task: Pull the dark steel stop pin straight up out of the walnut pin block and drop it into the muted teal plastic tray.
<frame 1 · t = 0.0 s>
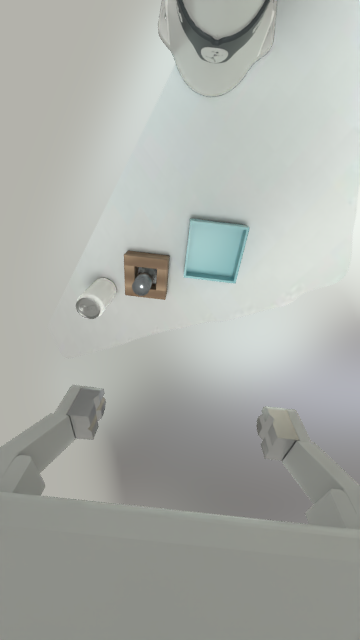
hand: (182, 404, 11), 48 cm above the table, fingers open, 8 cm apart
can: (105, 288, 61), on the table
tray: (213, 249, 54), on the table
pin block: (148, 273, 58), on the table
pin: (144, 279, 53), in the pin block
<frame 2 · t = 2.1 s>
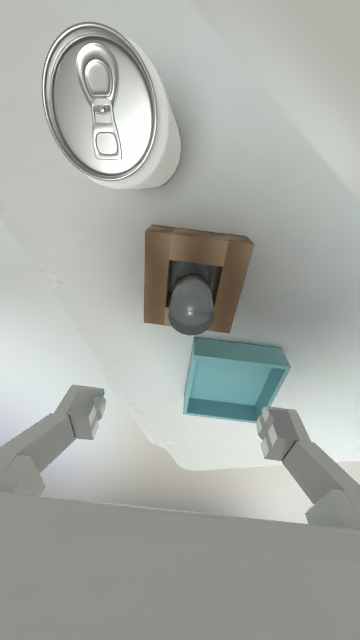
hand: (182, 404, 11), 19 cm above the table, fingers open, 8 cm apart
can: (148, 148, 21), on the table
tray: (227, 373, 35), on the table
pin block: (193, 275, 27), on the table
pin: (192, 292, 23), in the pin block
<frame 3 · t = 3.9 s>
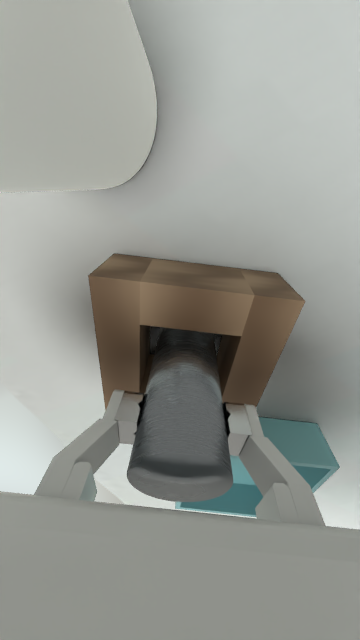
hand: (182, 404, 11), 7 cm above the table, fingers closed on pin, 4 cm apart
can: (93, 111, 10), on the table
tray: (237, 449, 25), on the table
pin block: (186, 330, 17), on the table
pin: (184, 379, 12), in the pin block, touching gripper
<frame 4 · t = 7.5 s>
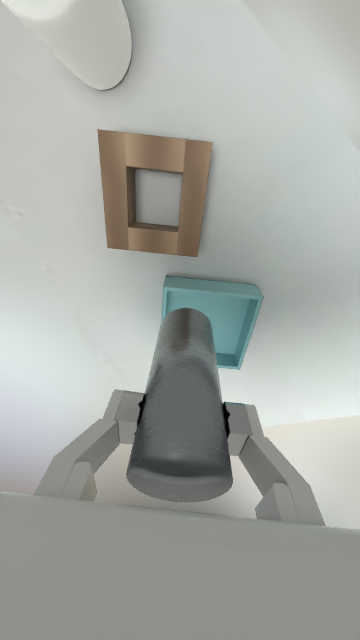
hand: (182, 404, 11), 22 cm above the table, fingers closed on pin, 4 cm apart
can: (98, 43, 20), on the table
tray: (204, 318, 34), on the table
pin block: (158, 199, 26), on the table
pin: (183, 379, 12), point 21 cm above the table, touching gripper
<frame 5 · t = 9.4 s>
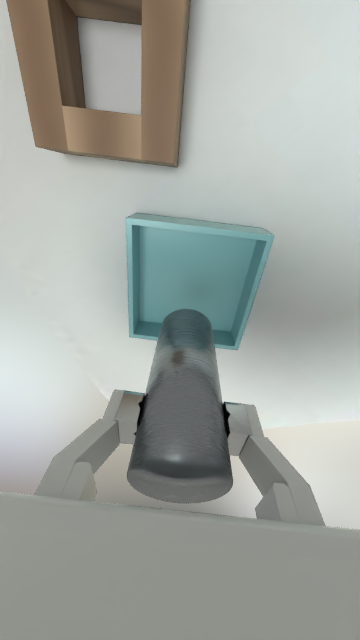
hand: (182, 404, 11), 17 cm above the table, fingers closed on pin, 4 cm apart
tray: (191, 279, 25), on the table
pin block: (117, 77, 17), on the table
pin: (184, 380, 12), point 16 cm above the table, touching gripper
when the fingers open (9 cm above the table, at t = 11.1 s): pin drops 1 cm, resting on tray.
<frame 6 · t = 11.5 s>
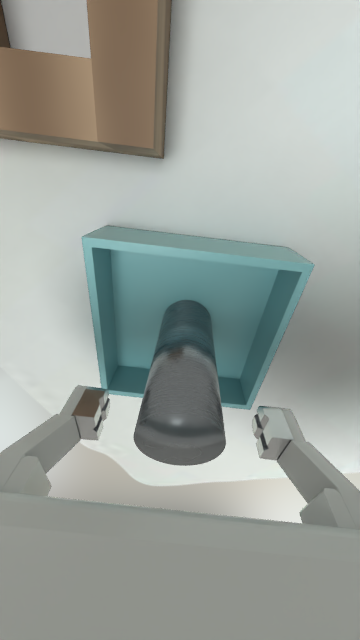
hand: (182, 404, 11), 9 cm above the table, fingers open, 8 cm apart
tray: (186, 314, 19), on the table
pin block: (59, 5, 10), on the table
pin: (184, 363, 14), in the tray, point 6 cm above the table
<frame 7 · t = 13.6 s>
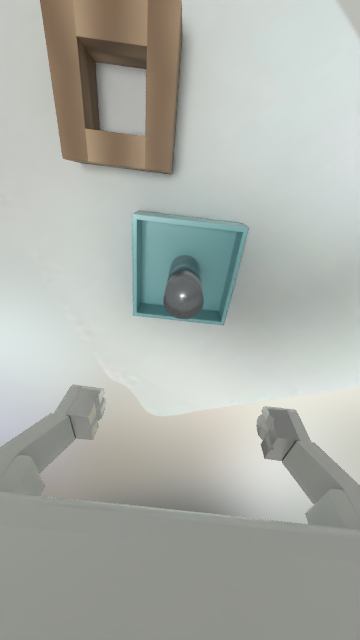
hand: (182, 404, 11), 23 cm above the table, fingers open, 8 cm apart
tray: (184, 267, 31), on the table
pin block: (125, 105, 22), on the table
pin: (184, 283, 25), in the tray, point 6 cm above the table
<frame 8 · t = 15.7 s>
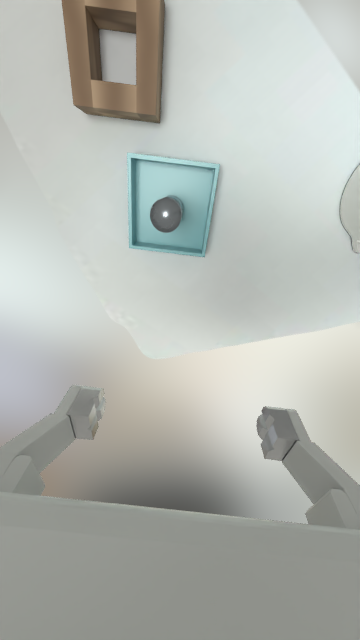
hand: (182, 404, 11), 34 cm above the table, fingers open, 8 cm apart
tray: (172, 208, 37), on the table
pin block: (122, 64, 28), on the table
pin: (169, 212, 32), in the tray, point 6 cm above the table
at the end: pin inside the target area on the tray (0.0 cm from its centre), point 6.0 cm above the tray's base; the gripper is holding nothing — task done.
